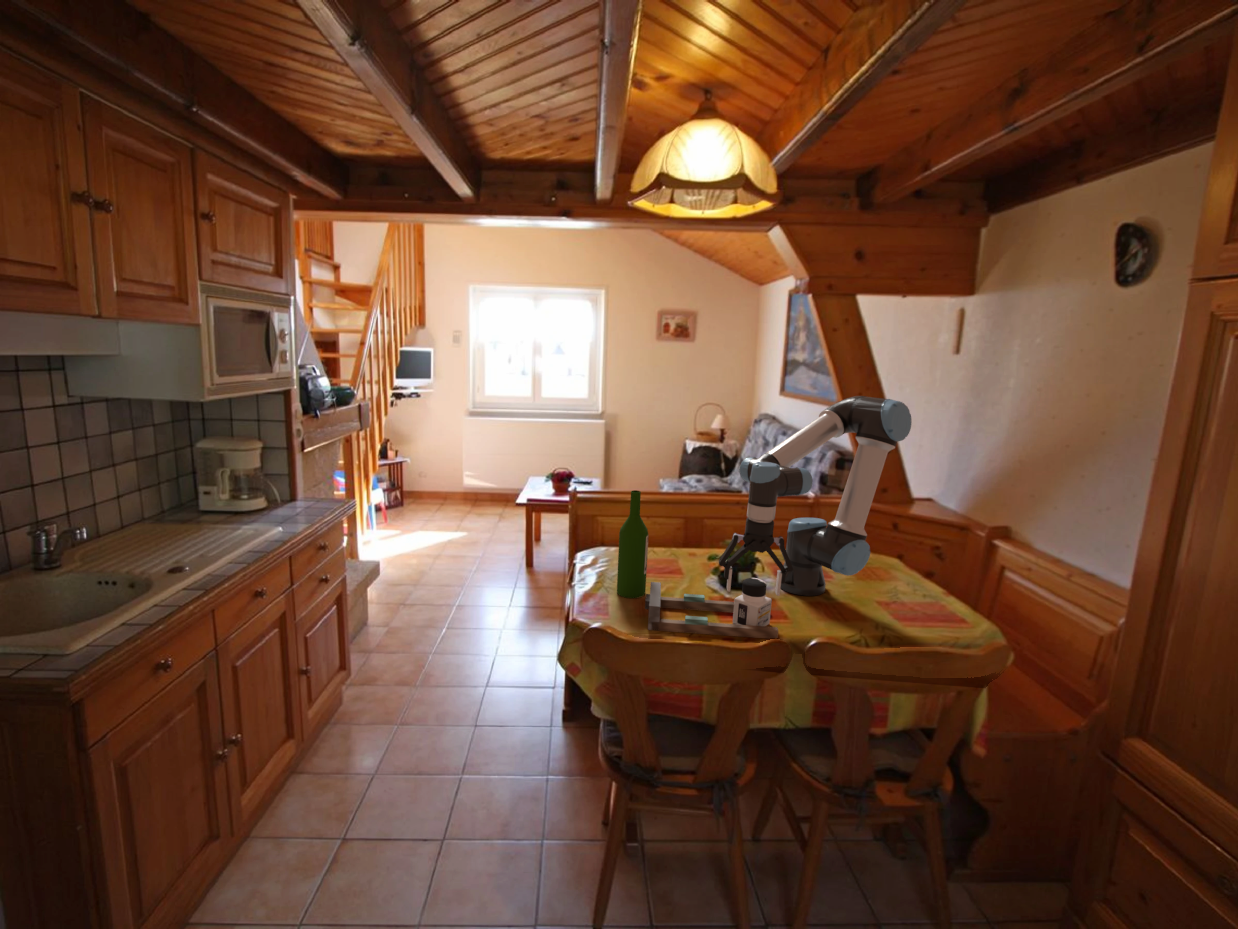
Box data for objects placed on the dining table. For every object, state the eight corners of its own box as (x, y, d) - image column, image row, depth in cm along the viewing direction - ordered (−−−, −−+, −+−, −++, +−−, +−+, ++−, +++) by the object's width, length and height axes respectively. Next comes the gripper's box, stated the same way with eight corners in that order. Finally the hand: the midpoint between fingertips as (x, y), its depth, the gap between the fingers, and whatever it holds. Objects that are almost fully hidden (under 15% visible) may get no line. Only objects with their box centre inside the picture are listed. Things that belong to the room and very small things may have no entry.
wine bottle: (648, 598, 193) (653, 495, 186) (619, 598, 192) (623, 495, 185) (642, 586, 202) (647, 487, 195) (614, 587, 200) (618, 487, 194)
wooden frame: (767, 612, 187) (769, 590, 185) (777, 639, 170) (779, 615, 169) (645, 603, 189) (646, 581, 188) (643, 629, 172) (644, 605, 171)
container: (756, 632, 173) (760, 588, 171) (731, 623, 178) (735, 580, 176) (769, 623, 179) (774, 580, 176) (746, 615, 184) (749, 573, 181)
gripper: (803, 518, 175) (795, 590, 179) (713, 511, 177) (707, 583, 181) (809, 526, 168) (800, 600, 172) (715, 519, 169) (708, 593, 174)
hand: (752, 592), depth 177 cm, fingers open, 13 cm apart
